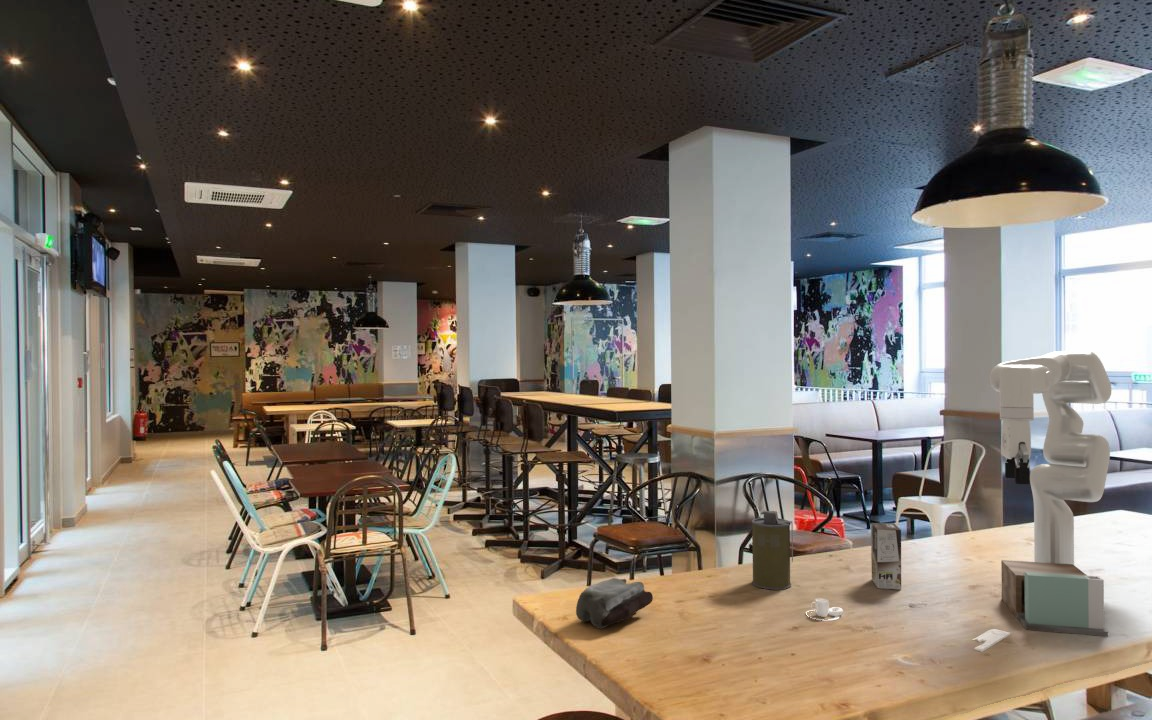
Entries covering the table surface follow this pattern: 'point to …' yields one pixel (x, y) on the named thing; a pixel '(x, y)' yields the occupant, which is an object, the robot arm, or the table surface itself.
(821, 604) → the teacup and saucer
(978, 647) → the white plastic blade
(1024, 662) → the table surface
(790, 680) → the table surface
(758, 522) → the canister
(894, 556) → the coffee box
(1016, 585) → the cabinet
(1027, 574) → the green and grey box
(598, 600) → the rock
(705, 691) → the table surface
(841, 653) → the table surface
